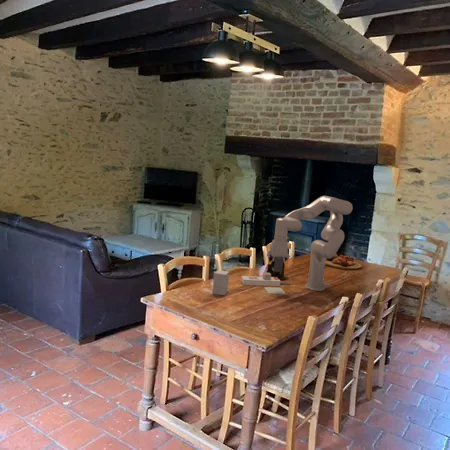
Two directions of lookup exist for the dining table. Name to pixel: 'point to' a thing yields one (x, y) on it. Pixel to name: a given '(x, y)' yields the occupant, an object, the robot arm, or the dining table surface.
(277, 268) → the block
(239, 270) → the dining table surface
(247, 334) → the dining table surface
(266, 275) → the small plug
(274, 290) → the felt pad
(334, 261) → the wooden plate with food
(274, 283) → the power strip
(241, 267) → the dining table surface
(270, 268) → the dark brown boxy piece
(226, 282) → the supplement box
